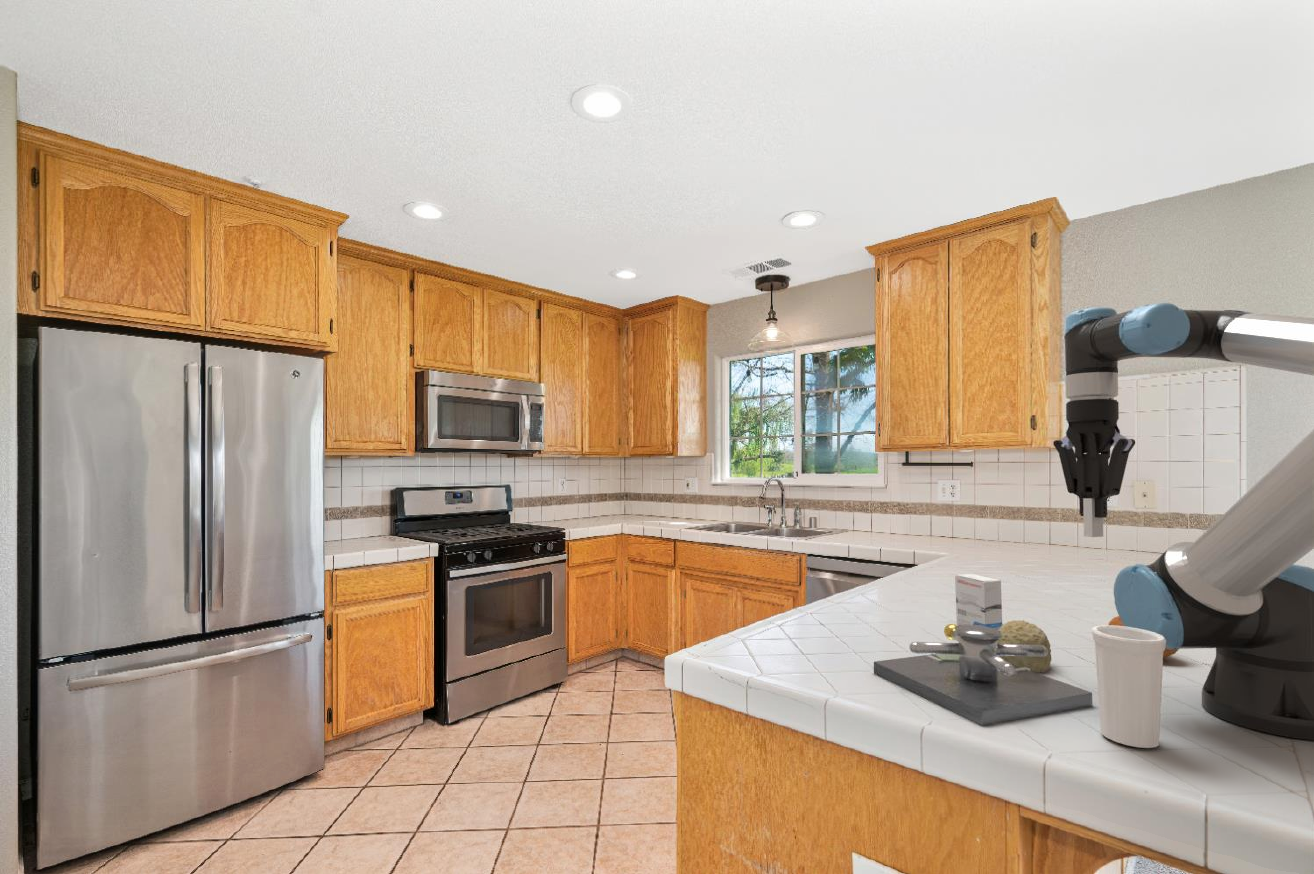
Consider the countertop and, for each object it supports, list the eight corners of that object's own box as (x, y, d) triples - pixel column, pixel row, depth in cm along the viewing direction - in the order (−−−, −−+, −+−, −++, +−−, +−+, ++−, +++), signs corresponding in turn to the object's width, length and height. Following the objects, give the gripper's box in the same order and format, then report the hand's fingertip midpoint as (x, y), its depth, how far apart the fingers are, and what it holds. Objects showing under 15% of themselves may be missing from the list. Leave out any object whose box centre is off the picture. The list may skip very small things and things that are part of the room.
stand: (1092, 705, 97) (1092, 690, 97) (982, 725, 89) (982, 709, 90) (968, 659, 119) (968, 647, 119) (872, 672, 111) (872, 659, 111)
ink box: (1003, 635, 136) (1003, 580, 136) (984, 637, 134) (984, 581, 134) (972, 625, 144) (972, 573, 144) (954, 626, 142) (954, 574, 143)
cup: (1078, 728, 89) (1077, 625, 89) (1133, 726, 90) (1131, 624, 90) (1125, 755, 81) (1123, 641, 81) (1184, 753, 81) (1182, 641, 82)
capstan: (1011, 654, 115) (1011, 613, 115) (1088, 703, 92) (1088, 652, 92) (888, 651, 116) (888, 611, 116) (934, 698, 93) (934, 648, 94)
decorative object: (1044, 695, 111) (1076, 648, 111) (992, 660, 113) (1023, 613, 113) (1021, 682, 120) (1051, 638, 120) (973, 649, 122) (1002, 606, 122)
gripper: (1146, 397, 105) (1148, 540, 105) (1071, 403, 118) (1072, 531, 117) (1115, 395, 103) (1117, 542, 102) (1041, 401, 115) (1043, 532, 114)
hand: (1093, 536), depth 109 cm, fingers closed
